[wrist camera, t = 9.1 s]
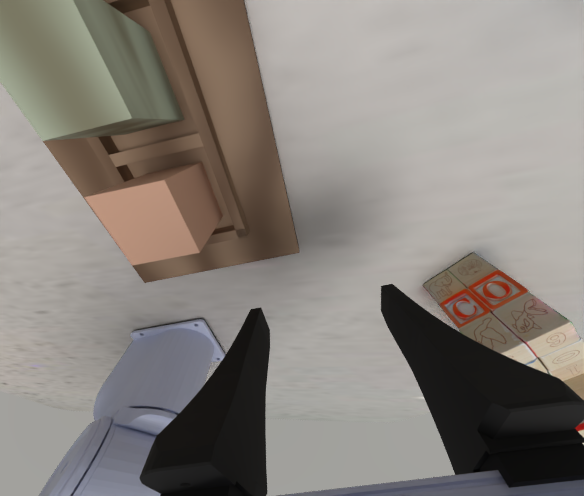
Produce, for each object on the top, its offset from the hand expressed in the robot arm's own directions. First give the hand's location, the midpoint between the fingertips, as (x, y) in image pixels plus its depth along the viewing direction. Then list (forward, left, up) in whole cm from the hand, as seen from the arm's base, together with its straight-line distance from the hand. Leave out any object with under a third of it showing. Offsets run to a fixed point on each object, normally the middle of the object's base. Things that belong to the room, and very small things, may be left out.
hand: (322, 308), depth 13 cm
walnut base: (-9, +10, -9) cm, 16 cm away
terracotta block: (-9, +6, -8) cm, 14 cm away
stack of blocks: (+20, -16, -10) cm, 28 cm away
